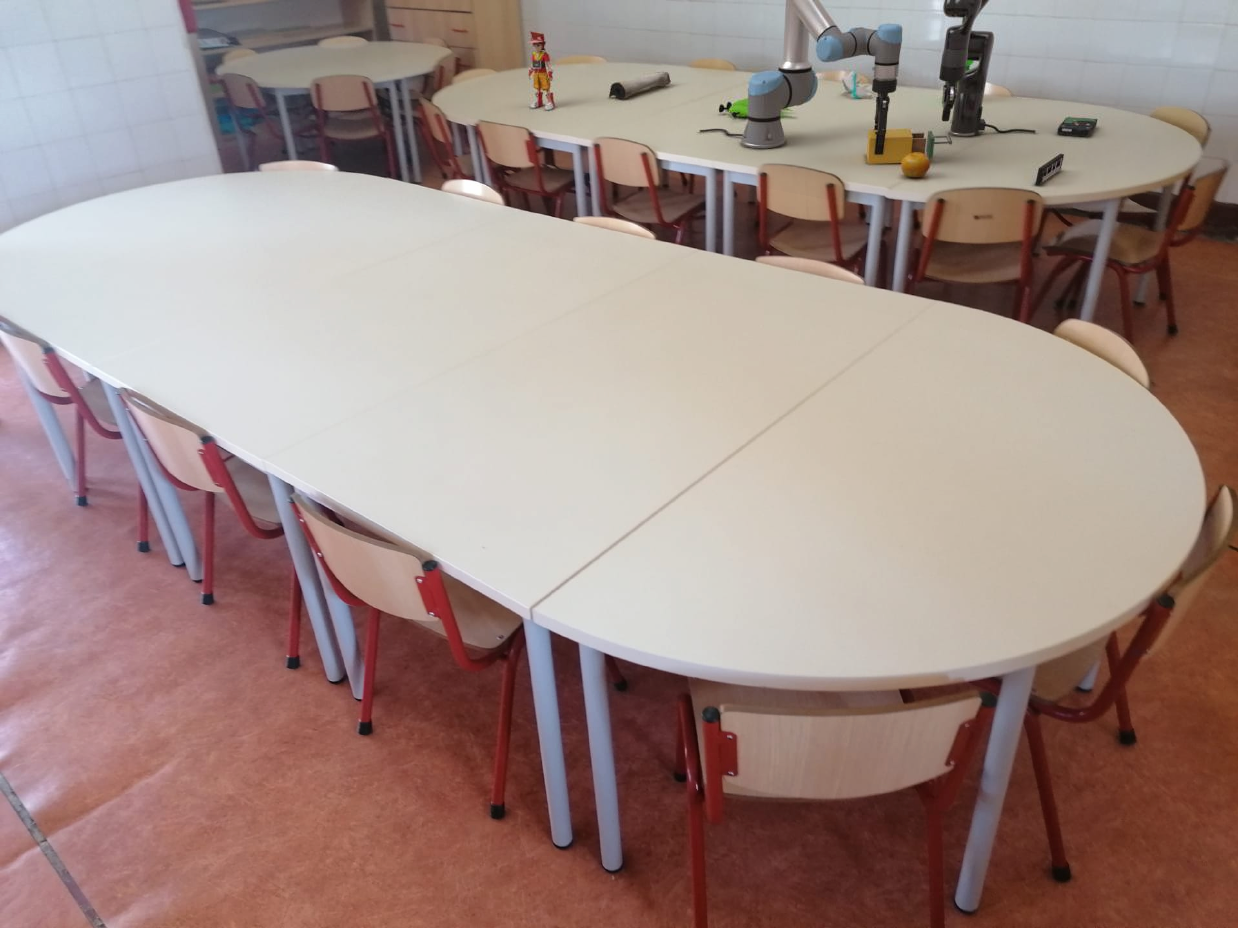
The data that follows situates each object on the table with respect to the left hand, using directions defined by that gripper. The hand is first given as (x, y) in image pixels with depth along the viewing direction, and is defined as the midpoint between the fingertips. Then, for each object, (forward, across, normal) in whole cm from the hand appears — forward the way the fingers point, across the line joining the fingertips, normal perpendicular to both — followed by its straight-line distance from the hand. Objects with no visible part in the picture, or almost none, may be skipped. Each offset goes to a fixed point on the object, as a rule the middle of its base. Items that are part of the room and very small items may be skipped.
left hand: (877, 149), depth 297 cm
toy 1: (+2, -76, -134) cm, 154 cm away
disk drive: (+4, -33, +70) cm, 77 cm away
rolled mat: (+3, -102, -95) cm, 139 cm away
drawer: (+2, 0, +14) cm, 14 cm away
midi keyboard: (+4, +20, +50) cm, 54 cm away
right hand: (-9, 0, +20) cm, 22 cm away
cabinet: (+3, 0, +4) cm, 5 cm away
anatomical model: (+3, -90, -4) cm, 90 cm away
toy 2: (+3, -60, -41) cm, 73 cm away
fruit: (+3, +18, +10) cm, 21 cm away
